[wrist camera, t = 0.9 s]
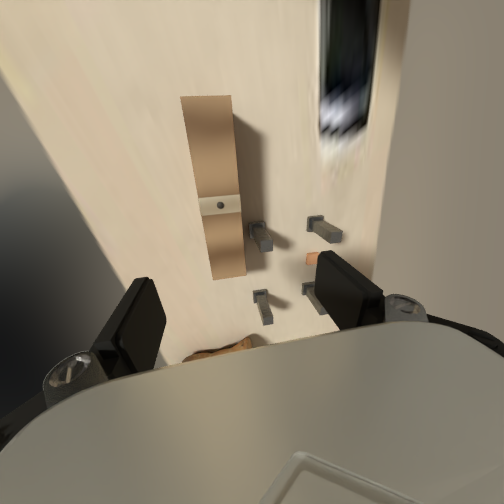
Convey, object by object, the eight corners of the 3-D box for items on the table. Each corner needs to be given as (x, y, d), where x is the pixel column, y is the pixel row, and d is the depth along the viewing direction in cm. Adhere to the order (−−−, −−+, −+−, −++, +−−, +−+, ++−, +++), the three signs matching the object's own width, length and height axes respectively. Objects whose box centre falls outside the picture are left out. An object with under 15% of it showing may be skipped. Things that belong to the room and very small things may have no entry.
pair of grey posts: (252, 290, 36) (260, 316, 30) (314, 281, 37) (332, 304, 31) (253, 301, 37) (261, 327, 31) (313, 291, 38) (330, 315, 32)
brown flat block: (306, 253, 34) (308, 255, 34) (317, 252, 34) (319, 253, 34) (306, 263, 35) (307, 264, 34) (316, 261, 35) (318, 263, 35)
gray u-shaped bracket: (248, 222, 30) (257, 238, 24) (321, 215, 31) (345, 227, 26) (249, 237, 31) (257, 255, 25) (320, 229, 32) (343, 244, 27)
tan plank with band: (187, 110, 23) (179, 96, 17) (227, 109, 23) (231, 94, 18) (212, 259, 32) (212, 281, 26) (241, 256, 32) (246, 275, 27)
